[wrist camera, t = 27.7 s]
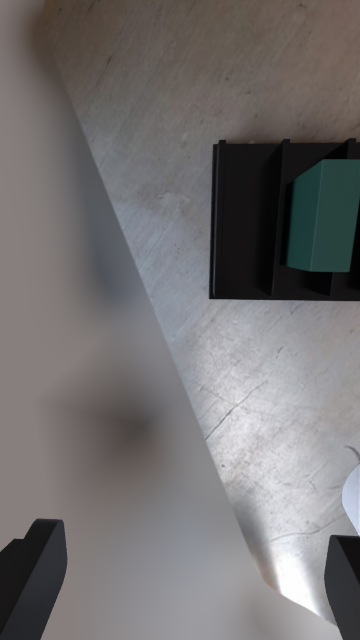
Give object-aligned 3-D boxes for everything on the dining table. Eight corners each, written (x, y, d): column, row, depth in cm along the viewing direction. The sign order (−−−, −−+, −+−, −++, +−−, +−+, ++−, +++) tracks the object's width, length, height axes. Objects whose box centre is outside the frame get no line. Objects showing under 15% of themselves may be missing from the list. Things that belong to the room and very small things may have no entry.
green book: (277, 264, 33) (310, 271, 24) (283, 186, 32) (322, 158, 22) (305, 264, 33) (349, 272, 24) (313, 186, 31) (365, 158, 22)
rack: (366, 299, 35) (397, 309, 29) (208, 297, 36) (210, 306, 30) (389, 145, 31) (429, 123, 26) (212, 147, 32) (216, 127, 27)
